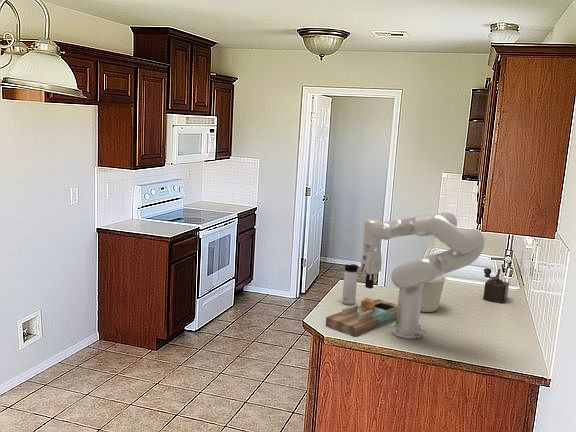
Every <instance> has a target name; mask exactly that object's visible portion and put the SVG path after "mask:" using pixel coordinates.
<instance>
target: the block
mask: <svg viewBox="0 0 576 432" xmlns="http://www.w3.org/2000/svg"><path fill="white" fill-rule="evenodd" d="M375 300H376V299H375V298H370V297H369V298H368V297H363V298H362V299H361V300H360V305H361V310H360V311H363V312H366V311H369V310H373V311H374V308H375Z"/></svg>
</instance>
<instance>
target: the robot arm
mask: <svg viewBox="0 0 576 432" xmlns="http://www.w3.org/2000/svg"><path fill="white" fill-rule="evenodd" d="M457 226H458V219H457V218H456V216H455V215H454V214H453V213H451V212H439V213H431V214H424V215H423V214H422V215H416V216H413V217H405V218H399V219H392V220H389V221H384V222H383V221H381V220H379V219H378V218H369V219H366V220H365V221H364V228H363V245H362V253H361V254H362V255H361V258H360V259H361V260H360V273H361V276H362V277H364V280H365V286H364V287H365V288H366V289H374V284H375V283H374V280H375V278H376V275H377V274H378V273H380V272H381V270H382V263H383V262H382V250H381V245H382V244H381V242H382V240H384V241H386V240H387V241H388V240H391V239H395V238H398V237H406V236H413V235H415V236H417V237H427V236H428V237H429V236H434V238H436V239H437V240H438V241H440V242H441V243H443V244H444V245H445V246H447V247H448V248H449V249H447V250H445V251H441V252H438V253H435V254H430V255H429V254H428V255H426V256H424V257H421V258H419V259H416V260H411V261H408V262H405V263H402V264H400V265H398V266H396V267H394V269H393V270H392V273H391V276H390V277H391V281H392V284H393V285H395V286H396V287H397V288H399V290H398V299H397V305H398V308H397V319H396V320H395V321H396V322H395V326H393V327H392V328H391V333H392V334H393V335H394V336H395V337H399V338H401V339H402V338H403V339H408V340H410V339H411V340H412V339H413V340H414V339H415V340H417V339H419V338H421V337H425V336H426V335H427V330H425V329H423V328H422V325H421V324H420V319H421V318H420V317H421V311H420V308H421V299H422V291H423V285H424V283H426V282H429V281H431V280H434V279H436V278H438V277H440V276H441V275H443V276H444V275H446V274H449V273H451V272H455V271H457V270H459V269H462V268H465V267H468V266H469V265H470V264H473V263H474V262H475V261H476V260H477V259H479V257H480V255H481V254H482V253H483V251H484V248H485V237H484V234H483V233H482V232H481V231H480V230H478V229H475V228H467V229H465V230H464V229H463V230H462V229H461V228H459V227H457Z"/></svg>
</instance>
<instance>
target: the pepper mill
mask: <svg viewBox="0 0 576 432" xmlns="http://www.w3.org/2000/svg"><path fill="white" fill-rule="evenodd" d="M492 271H493V270H492V269H491V268H489V267H485V268H484V269H483V273H484V278H489V279H487V281H486V282H485V283H484V289H483V290H484V291H483V298H482V300H484V301H487V302H492V303H496V304H502V305H503V304H505V303H506V302H507V300H508V296H509V295H508V294H509V287H510V282H508V281H504V280H502V279H500V274H501V269H499V268H498V269H497V272H496V275H495V276H491V273H492Z"/></svg>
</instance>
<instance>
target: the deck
mask: <svg viewBox="0 0 576 432" xmlns="http://www.w3.org/2000/svg"><path fill="white" fill-rule="evenodd" d="M397 308H398V304H396V303H392V302H388V301H385V300H382V299H378V298H377V299H375V308H374V311H373V310H369V311H366V312H363V311H360V310H361V304H360V305H358V304H354V305H349V306H348V307H345V308H342V311H340V312H337V313H334V314H331V315H328V316H326V317H325V327H327V328H330V329H333V330H335V331H338V332H341V333H344V334H347V335H349V336H351V337H355V338H356V337H359V336H361V335H363V334H366V333H368V332H371V331H374V330H376V329H379V328H381V327H383V326H385V325H388V324H389V323H390V324H391V323H393V322H395V321H396V319H397Z"/></svg>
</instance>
